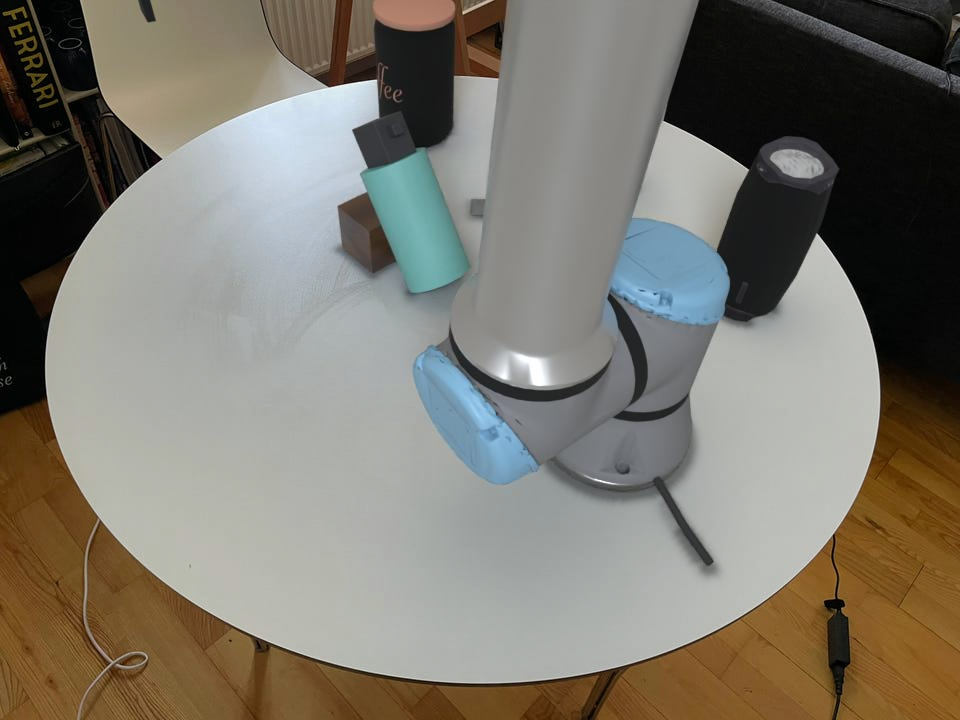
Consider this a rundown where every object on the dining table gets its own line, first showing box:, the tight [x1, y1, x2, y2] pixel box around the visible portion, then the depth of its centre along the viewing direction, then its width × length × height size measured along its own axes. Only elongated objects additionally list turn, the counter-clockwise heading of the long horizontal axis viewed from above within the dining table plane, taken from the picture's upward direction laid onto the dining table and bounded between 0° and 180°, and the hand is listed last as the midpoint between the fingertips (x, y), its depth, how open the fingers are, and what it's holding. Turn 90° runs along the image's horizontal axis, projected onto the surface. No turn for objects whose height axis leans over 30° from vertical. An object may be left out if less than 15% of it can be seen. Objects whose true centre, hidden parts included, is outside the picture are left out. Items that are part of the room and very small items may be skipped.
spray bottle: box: [351, 111, 472, 294], centre depth 83 cm, size 15×8×19 cm, turn 43°
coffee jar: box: [372, 0, 456, 149], centre depth 104 cm, size 11×11×18 cm
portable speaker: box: [715, 135, 840, 323], centre depth 82 cm, size 9×9×20 cm
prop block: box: [337, 191, 397, 274], centre depth 91 cm, size 6×8×6 cm
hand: (221, 3), depth 73 cm, fingers open, 13 cm apart
